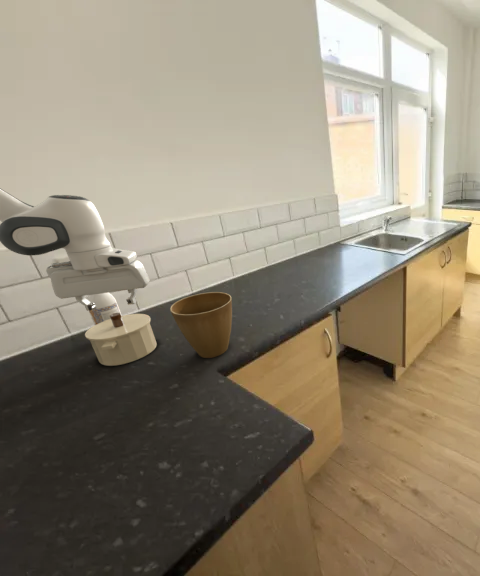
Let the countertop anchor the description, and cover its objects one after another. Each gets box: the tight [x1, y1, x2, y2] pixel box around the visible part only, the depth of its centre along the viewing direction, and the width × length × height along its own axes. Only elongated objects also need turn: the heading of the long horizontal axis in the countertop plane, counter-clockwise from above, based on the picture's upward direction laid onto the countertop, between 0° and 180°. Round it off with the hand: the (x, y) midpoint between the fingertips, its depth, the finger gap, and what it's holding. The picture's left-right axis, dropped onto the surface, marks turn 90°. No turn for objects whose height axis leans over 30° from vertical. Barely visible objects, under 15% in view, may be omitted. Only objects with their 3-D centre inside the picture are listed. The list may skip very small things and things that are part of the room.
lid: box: [84, 313, 152, 341], centre depth 90 cm, size 15×15×5 cm
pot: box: [89, 322, 158, 367], centre depth 92 cm, size 14×19×8 cm
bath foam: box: [86, 292, 123, 326], centre depth 99 cm, size 7×7×20 cm
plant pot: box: [169, 291, 233, 359], centre depth 90 cm, size 15×15×16 cm
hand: (112, 306), depth 88 cm, fingers open, 8 cm apart
